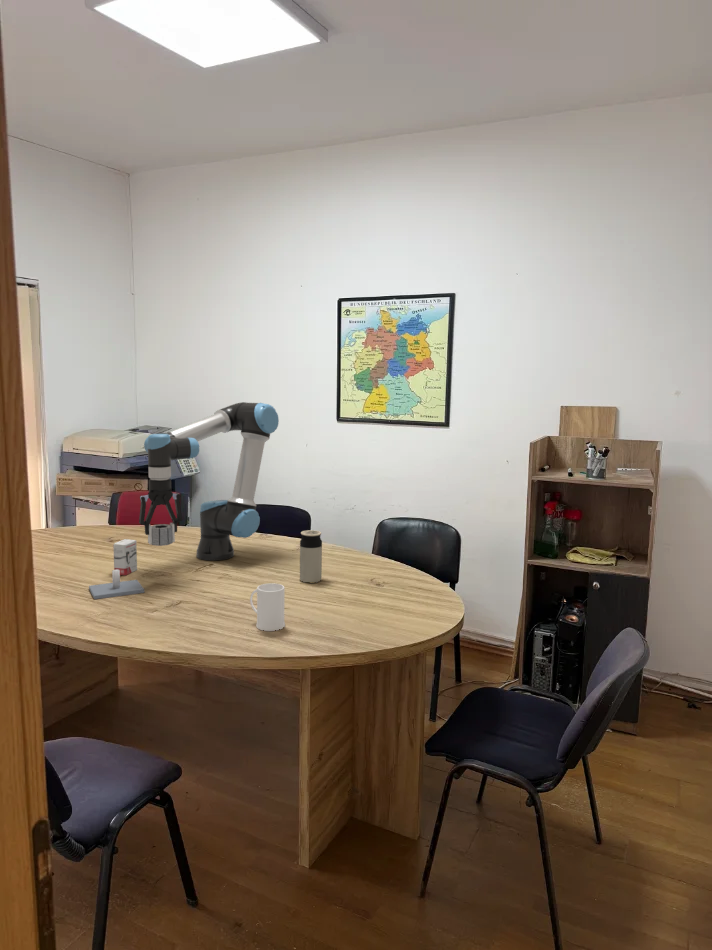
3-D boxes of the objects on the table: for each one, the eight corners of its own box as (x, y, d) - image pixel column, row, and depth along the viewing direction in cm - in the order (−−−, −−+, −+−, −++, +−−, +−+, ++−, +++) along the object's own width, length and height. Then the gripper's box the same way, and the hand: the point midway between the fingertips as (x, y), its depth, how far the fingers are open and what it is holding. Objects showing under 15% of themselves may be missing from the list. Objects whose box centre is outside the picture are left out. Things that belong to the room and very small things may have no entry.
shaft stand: (137, 582, 234) (136, 563, 233) (144, 592, 224) (143, 572, 223) (89, 589, 227) (88, 568, 226) (94, 599, 216) (93, 578, 215)
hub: (169, 539, 238) (168, 523, 237) (174, 544, 231) (174, 527, 231) (148, 541, 234) (148, 525, 233) (153, 546, 228) (153, 529, 227)
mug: (242, 624, 197) (242, 585, 196) (261, 616, 204) (261, 579, 202) (271, 633, 191) (272, 593, 189) (290, 625, 198) (291, 586, 196)
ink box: (125, 576, 242) (124, 544, 240) (113, 575, 243) (112, 544, 241) (137, 569, 251) (137, 539, 249) (126, 568, 252) (125, 538, 250)
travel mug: (325, 578, 244) (325, 531, 241) (314, 584, 237) (315, 536, 234) (306, 575, 247) (306, 529, 245) (295, 581, 240) (296, 533, 237)
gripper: (185, 475, 238) (186, 537, 241) (127, 478, 228) (129, 543, 231) (191, 478, 231) (192, 541, 235) (132, 481, 221) (134, 548, 225)
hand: (161, 542), depth 233 cm, fingers closed on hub, 7 cm apart
